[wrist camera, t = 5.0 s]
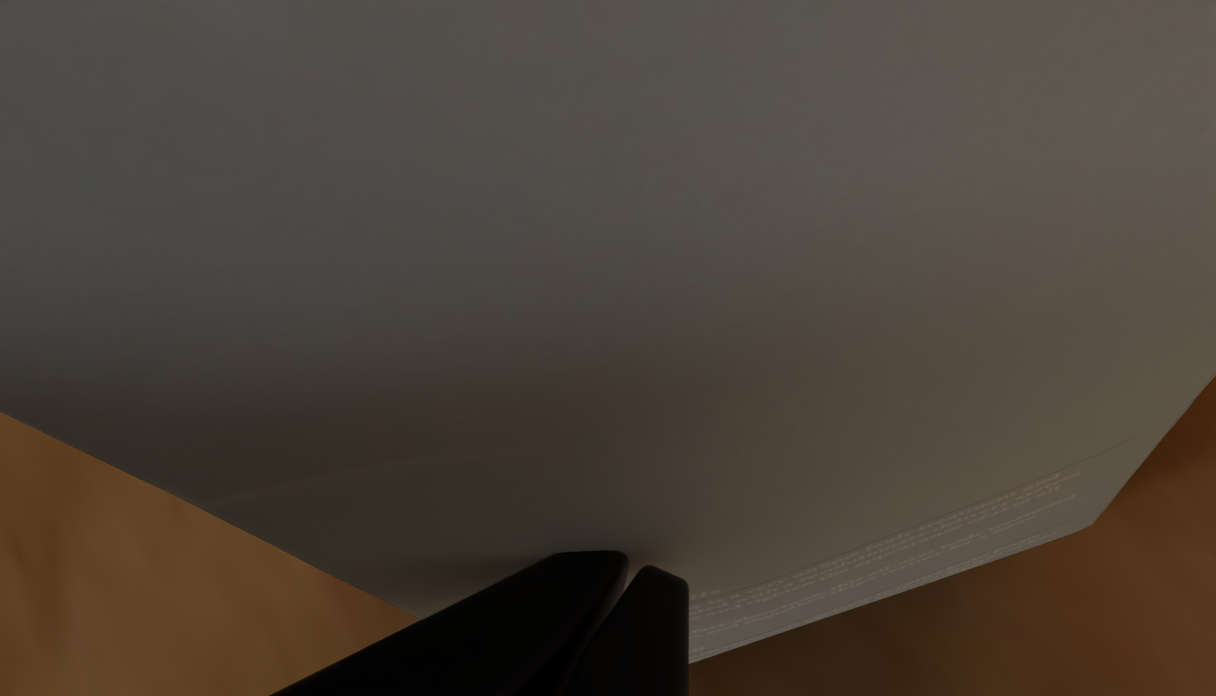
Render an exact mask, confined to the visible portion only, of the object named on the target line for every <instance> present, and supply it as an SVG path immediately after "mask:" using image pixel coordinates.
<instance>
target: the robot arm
mask: <svg viewBox="0 0 1216 696" xmlns="http://www.w3.org/2000/svg"><path fill="white" fill-rule="evenodd" d="M629 564H630V563H629V559H628V557H627V555H626V554H624V553H623V552H620V551H616V550H599V551H579V552H561V553H556V554H553V555H551V556H549V557H547V558H545V559H543V560H541V561H539V562H537V563H535V564H533V565H531V566H529V567H527V568H525V569H523V570H521V571H519V572H517V573H515V574H513V575H511V576H509V577H507V578H505V579H503V580H501V581H499V582H497V583H495V584H493V585H491V586H489V587H487V588H485V589H483V590H481V591H479V592H477V593H475V594H473V595H471V596H469V597H467V598H465V599H463V600H461V601H459V602H457V603H455V604H453V605H451V606H449V607H446V608H444V609H442V610H440V611H438V612H436V613H434V614H432V615H430V616H428V617H426V618H424V619H422V620H420V621H418V622H416V623H414V624H412V625H410V626H408V627H406V628H404V629H402V630H400V631H398V632H396V633H394V634H392V635H390V636H388V637H386V638H384V639H382V640H380V641H378V642H376V643H374V644H372V645H370V646H368V647H366V648H364V649H362V650H360V651H358V652H356V653H354V654H352V655H350V656H348V657H346V658H344V659H342V660H340V661H338V662H336V663H334V664H332V665H330V666H328V667H326V668H324V669H322V670H320V671H318V672H316V673H314V674H312V675H310V676H308V677H306V678H304V679H302V680H300V681H298V682H296V683H294V684H292V685H290V686H288V687H286V688H284V689H282V690H280V691H278V692H275V693H273V694H271V695H269V696H689V586H688V583H687V582H686V580H684V579H683V578H680V577H678V576H676V575H674V574H671V573H669V572H667V571H664V570H662V569H660V568H657V567H655V566H653V565H645V566H643V567H642V568H641V569H640V570H639V571H638V573H637V574H636V575H635V577H634V578H633V580H632V581H631V583H630V584H629V586H628V587H627V588H626V590H625V591H624V593H623V590H624V587H625V583H626V579H627V575H628V571H629Z"/></svg>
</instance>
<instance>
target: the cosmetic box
mask: <svg viewBox="0 0 1216 696" xmlns="http://www.w3.org/2000/svg"><path fill="white" fill-rule="evenodd" d="M1215 375H1216V0H0V412H2V413H5V414H7V415H9V416H11V417H13V418H15V419H17V420H19V421H21V422H23V423H25V424H27V425H29V426H31V427H33V428H35V429H37V430H39V431H41V432H43V433H45V434H47V435H49V436H51V437H53V438H56V439H58V440H60V441H62V442H64V443H66V444H68V445H70V446H72V447H74V448H77V449H79V450H81V451H83V452H85V453H87V454H89V455H91V456H93V457H95V458H98V459H100V460H102V461H104V462H106V463H108V464H110V465H112V466H114V467H116V468H118V469H121V470H123V471H125V472H127V473H129V474H131V475H133V476H135V477H137V478H139V479H141V480H144V481H146V482H148V483H150V484H152V485H154V486H156V487H158V488H160V489H162V490H164V491H167V492H169V493H171V494H173V495H175V496H177V497H179V498H181V499H183V500H185V501H187V502H189V503H191V504H193V505H195V506H197V507H199V508H201V509H203V510H205V511H207V512H209V513H210V514H212V515H214V516H216V517H218V518H220V519H222V520H224V521H226V522H228V523H230V524H232V525H234V526H236V527H238V528H240V529H242V530H244V531H246V532H248V533H250V534H252V535H254V536H256V537H258V538H260V539H262V540H264V541H266V542H268V543H270V544H272V545H274V546H276V547H277V548H279V549H281V550H283V551H285V552H287V553H289V554H291V555H293V556H295V557H297V558H299V559H301V560H303V561H305V562H306V563H308V564H310V565H312V566H314V567H316V568H318V569H320V570H322V571H324V572H326V573H328V574H330V575H332V576H334V577H336V578H338V579H340V580H343V581H345V582H347V583H349V584H351V585H353V586H355V587H357V588H359V589H361V590H363V591H365V592H367V593H369V594H371V595H373V596H375V597H377V598H379V599H381V600H383V601H385V602H387V603H389V604H391V605H393V606H395V607H397V608H399V609H401V610H403V611H405V612H407V613H409V614H411V615H413V616H415V617H417V618H419V619H421V620H422V619H424V618H426V617H428V616H430V615H432V614H434V613H436V612H438V611H440V610H442V609H444V608H446V607H449V606H451V605H453V604H455V603H457V602H459V601H461V600H463V599H465V598H467V597H469V596H471V595H473V594H475V593H477V592H479V591H481V590H483V589H485V588H487V587H489V586H491V585H493V584H495V583H497V582H499V581H501V580H503V579H505V578H507V577H509V576H511V575H513V574H515V573H517V572H519V571H521V570H523V569H525V568H527V567H529V566H531V565H533V564H535V563H537V562H539V561H541V560H543V559H545V558H547V557H549V556H551V555H553V554H556V553H561V552H579V551H599V550H616V551H620V552H623V553H624V554H626V555H627V557H628V559H629V563H630V564H629V571H628V575H627V579H626V583H625V587H624V590H623V593H624V591H625V590H626V588H627V587H628V586H629V584H630V583H631V581H632V580H633V578H634V577H635V575H636V574H637V573H638V571H639V570H640V569H641V568H642V567H643V566H645V565H653V566H655V567H657V568H660V569H662V570H664V571H667V572H669V573H671V574H674V575H676V576H678V577H680V578H683V579H684V580H686V582H687V583H688V586H689V664H691V663H694V662H697V661H700V660H703V659H706V658H709V657H712V656H714V655H717V654H720V653H723V652H726V651H729V650H732V649H735V648H738V647H741V646H744V645H747V644H750V643H753V642H756V641H759V640H762V639H765V638H768V637H770V636H773V635H776V634H779V633H782V632H785V631H788V630H791V629H794V628H797V627H800V626H803V625H806V624H809V623H812V622H815V621H818V620H821V619H824V618H827V617H830V616H833V615H836V614H839V613H842V612H845V611H848V610H851V609H854V608H857V607H860V606H863V605H866V604H869V603H872V602H874V601H877V600H880V599H883V598H886V597H889V596H892V595H895V594H898V593H901V592H904V591H907V590H910V589H913V588H916V587H919V586H922V585H925V584H928V583H931V582H934V581H937V580H940V579H943V578H946V577H949V576H951V575H954V574H957V573H960V572H963V571H966V570H969V569H972V568H975V567H978V566H980V565H983V564H986V563H989V562H992V561H995V560H998V559H1001V558H1004V557H1007V556H1009V555H1012V554H1015V553H1018V552H1021V551H1024V550H1027V549H1030V548H1033V547H1036V546H1038V545H1041V544H1044V543H1047V542H1050V541H1053V540H1055V539H1058V538H1061V537H1064V536H1066V535H1069V534H1072V533H1075V532H1077V531H1080V530H1082V529H1084V528H1086V527H1088V526H1091V525H1093V524H1094V522H1095V521H1096V520H1097V518H1098V517H1099V516H1100V515H1101V514H1102V512H1103V511H1104V510H1105V509H1106V508H1107V507H1108V505H1109V504H1110V503H1111V502H1112V500H1113V499H1114V498H1115V497H1116V496H1117V494H1118V493H1119V491H1120V490H1121V489H1122V488H1123V486H1124V485H1125V484H1126V482H1127V481H1128V480H1129V479H1130V477H1131V476H1132V475H1133V474H1134V473H1135V472H1136V470H1137V469H1138V468H1139V467H1140V466H1141V464H1142V463H1143V462H1144V461H1145V459H1146V458H1147V457H1148V456H1149V454H1150V453H1151V452H1152V451H1153V450H1154V448H1155V447H1156V446H1157V445H1158V443H1159V442H1160V441H1161V440H1162V438H1163V437H1164V436H1165V435H1166V434H1167V433H1168V431H1169V430H1170V429H1171V428H1172V427H1173V426H1174V424H1175V423H1176V422H1177V421H1178V420H1179V419H1180V417H1181V416H1182V415H1183V414H1184V413H1185V412H1186V410H1187V409H1188V408H1189V406H1190V405H1191V404H1192V403H1193V401H1194V400H1195V399H1196V398H1197V396H1198V395H1199V394H1200V393H1201V392H1202V391H1203V389H1204V388H1205V387H1206V386H1207V385H1208V383H1209V382H1210V381H1211V380H1212V379H1213V377H1214V376H1215Z"/></svg>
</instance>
